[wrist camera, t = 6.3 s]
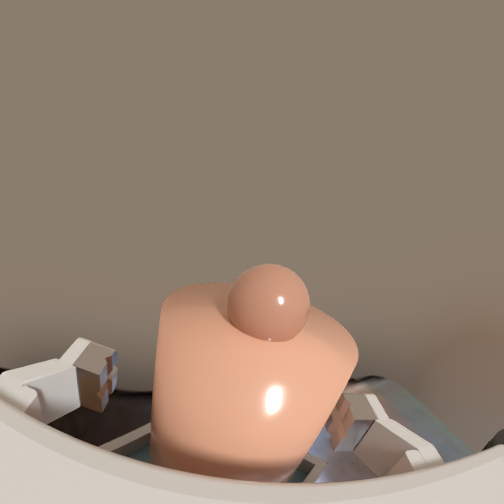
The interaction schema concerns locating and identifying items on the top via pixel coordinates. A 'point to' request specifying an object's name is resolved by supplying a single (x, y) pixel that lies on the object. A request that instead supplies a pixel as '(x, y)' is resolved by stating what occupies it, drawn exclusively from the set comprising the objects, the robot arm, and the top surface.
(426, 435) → the top surface
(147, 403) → the top surface
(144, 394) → the top surface
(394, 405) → the top surface
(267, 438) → the pink knobbed canister
